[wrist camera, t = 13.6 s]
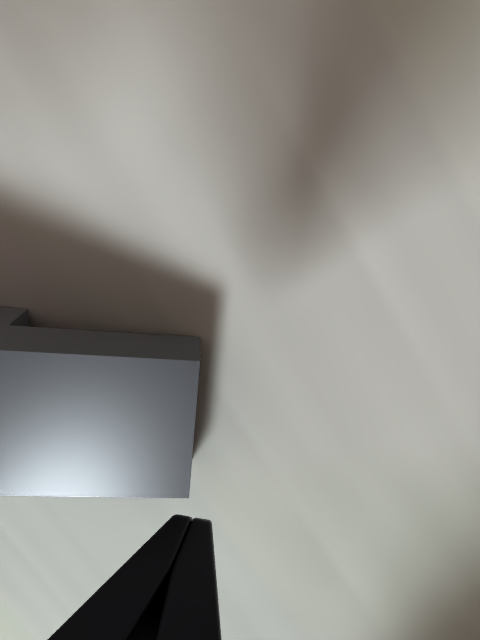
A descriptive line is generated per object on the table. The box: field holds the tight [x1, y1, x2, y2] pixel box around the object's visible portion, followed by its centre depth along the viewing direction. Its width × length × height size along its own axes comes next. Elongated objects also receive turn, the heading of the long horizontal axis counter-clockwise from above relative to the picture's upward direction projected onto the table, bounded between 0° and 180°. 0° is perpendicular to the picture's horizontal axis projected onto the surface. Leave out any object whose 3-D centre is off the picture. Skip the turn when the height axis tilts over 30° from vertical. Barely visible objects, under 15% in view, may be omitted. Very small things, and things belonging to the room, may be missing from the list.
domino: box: [0, 325, 200, 498], centre depth 13 cm, size 2×5×8 cm
